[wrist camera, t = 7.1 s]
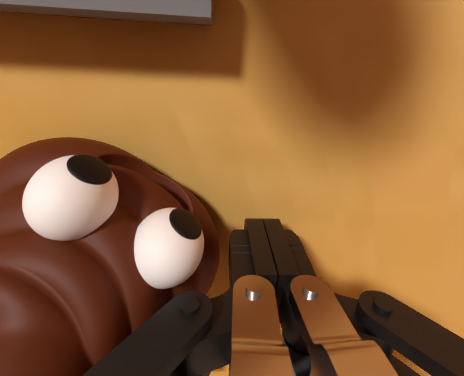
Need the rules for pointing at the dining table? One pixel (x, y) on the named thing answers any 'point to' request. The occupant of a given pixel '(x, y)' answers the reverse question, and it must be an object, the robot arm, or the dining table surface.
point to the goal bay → (119, 9)
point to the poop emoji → (90, 252)
